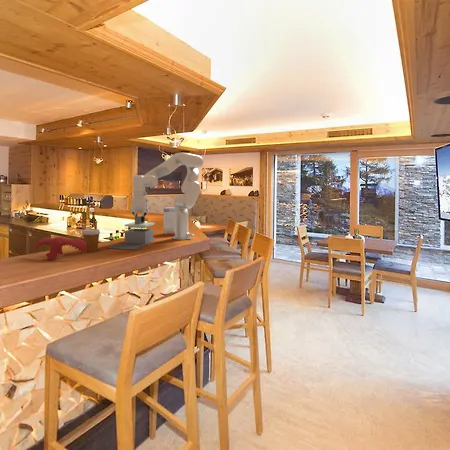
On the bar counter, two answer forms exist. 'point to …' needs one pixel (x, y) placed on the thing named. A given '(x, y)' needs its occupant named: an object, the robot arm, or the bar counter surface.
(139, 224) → the lid
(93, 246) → the disposable coffee cup
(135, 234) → the box
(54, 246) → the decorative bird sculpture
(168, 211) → the cracker box
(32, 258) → the bar counter surface
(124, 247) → the mat
